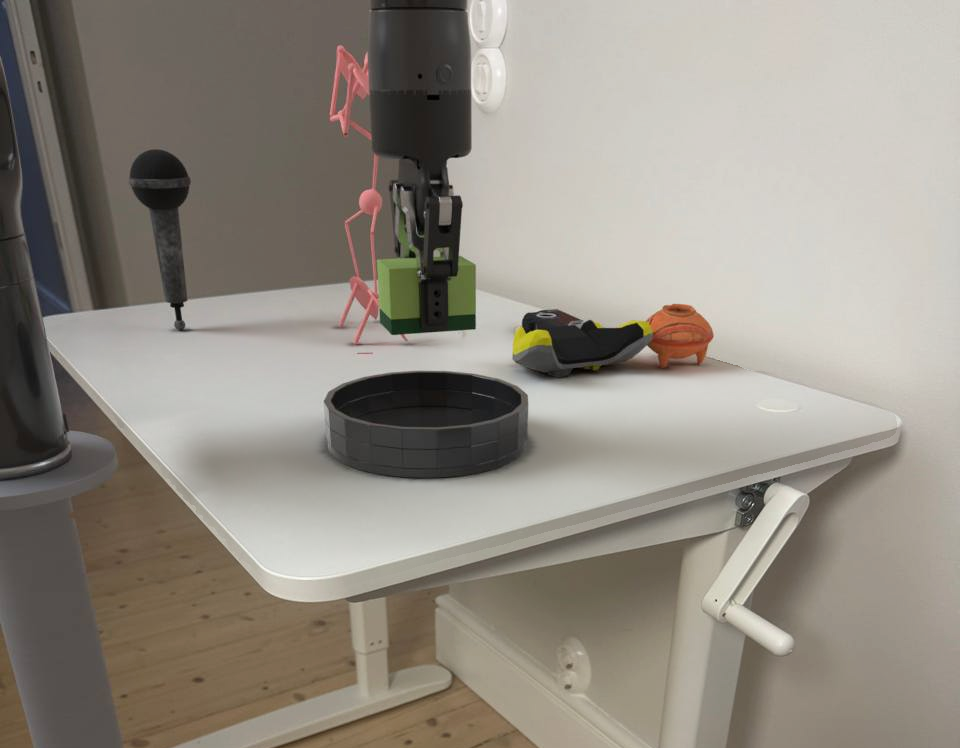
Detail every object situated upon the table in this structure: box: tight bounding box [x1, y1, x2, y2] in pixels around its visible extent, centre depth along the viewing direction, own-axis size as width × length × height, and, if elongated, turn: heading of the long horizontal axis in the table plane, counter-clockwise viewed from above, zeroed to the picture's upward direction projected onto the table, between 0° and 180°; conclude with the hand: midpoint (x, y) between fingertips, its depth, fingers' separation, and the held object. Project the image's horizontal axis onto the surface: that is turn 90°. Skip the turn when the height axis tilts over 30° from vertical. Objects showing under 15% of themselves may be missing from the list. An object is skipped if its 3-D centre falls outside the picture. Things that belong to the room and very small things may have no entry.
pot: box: [644, 303, 714, 369], centre depth 109 cm, size 8×8×7 cm
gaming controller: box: [512, 319, 653, 377], centre depth 105 cm, size 15×6×10 cm
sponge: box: [376, 255, 477, 336], centre depth 80 cm, size 7×4×5 cm, turn 107°
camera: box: [521, 308, 585, 332], centre depth 120 cm, size 6×3×11 cm
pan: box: [323, 370, 529, 479], centre depth 85 cm, size 17×17×4 cm
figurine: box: [329, 10, 460, 355], centre depth 113 cm, size 15×26×35 cm, turn 18°
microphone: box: [128, 148, 192, 331], centre depth 116 cm, size 7×7×20 cm
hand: (426, 322), depth 81 cm, fingers closed on sponge, 4 cm apart
